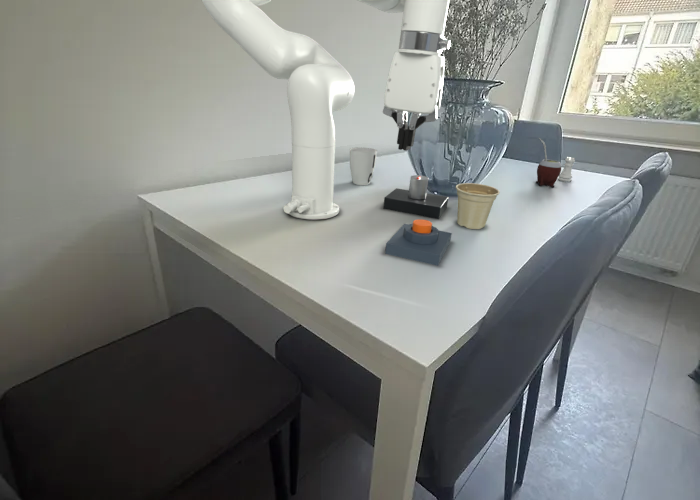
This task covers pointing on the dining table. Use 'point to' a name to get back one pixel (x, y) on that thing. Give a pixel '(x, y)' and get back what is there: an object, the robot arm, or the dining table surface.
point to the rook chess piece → (567, 170)
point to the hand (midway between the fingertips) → (404, 148)
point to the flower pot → (474, 204)
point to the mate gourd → (548, 170)
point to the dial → (418, 187)
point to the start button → (422, 226)
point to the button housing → (419, 244)
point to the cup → (362, 164)
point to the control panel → (416, 204)
